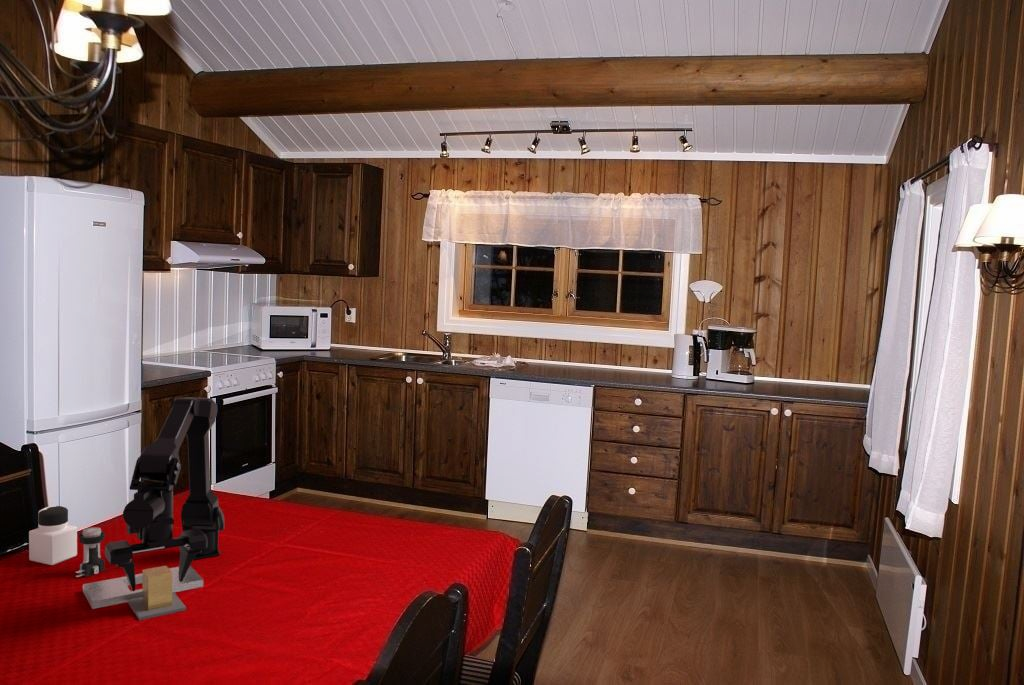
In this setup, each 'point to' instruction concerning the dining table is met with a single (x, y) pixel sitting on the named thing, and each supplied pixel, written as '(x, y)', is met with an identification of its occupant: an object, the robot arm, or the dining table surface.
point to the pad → (145, 614)
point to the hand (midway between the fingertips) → (157, 585)
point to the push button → (91, 551)
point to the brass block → (157, 588)
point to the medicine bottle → (52, 537)
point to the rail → (120, 593)
